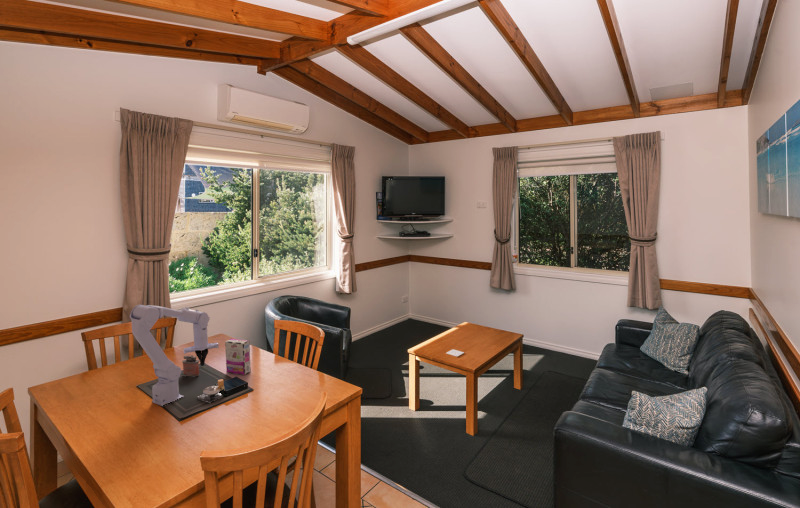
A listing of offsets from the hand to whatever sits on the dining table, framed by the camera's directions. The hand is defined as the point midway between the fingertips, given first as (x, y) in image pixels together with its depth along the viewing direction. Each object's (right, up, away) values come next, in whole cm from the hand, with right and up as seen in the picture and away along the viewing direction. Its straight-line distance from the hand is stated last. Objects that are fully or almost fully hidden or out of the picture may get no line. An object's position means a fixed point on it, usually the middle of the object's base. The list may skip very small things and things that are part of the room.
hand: (202, 365), depth 187 cm
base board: (+10, -11, -11) cm, 19 cm away
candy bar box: (+11, -8, +15) cm, 20 cm away
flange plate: (+10, -8, -11) cm, 17 cm away
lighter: (-11, -8, +11) cm, 17 cm away
